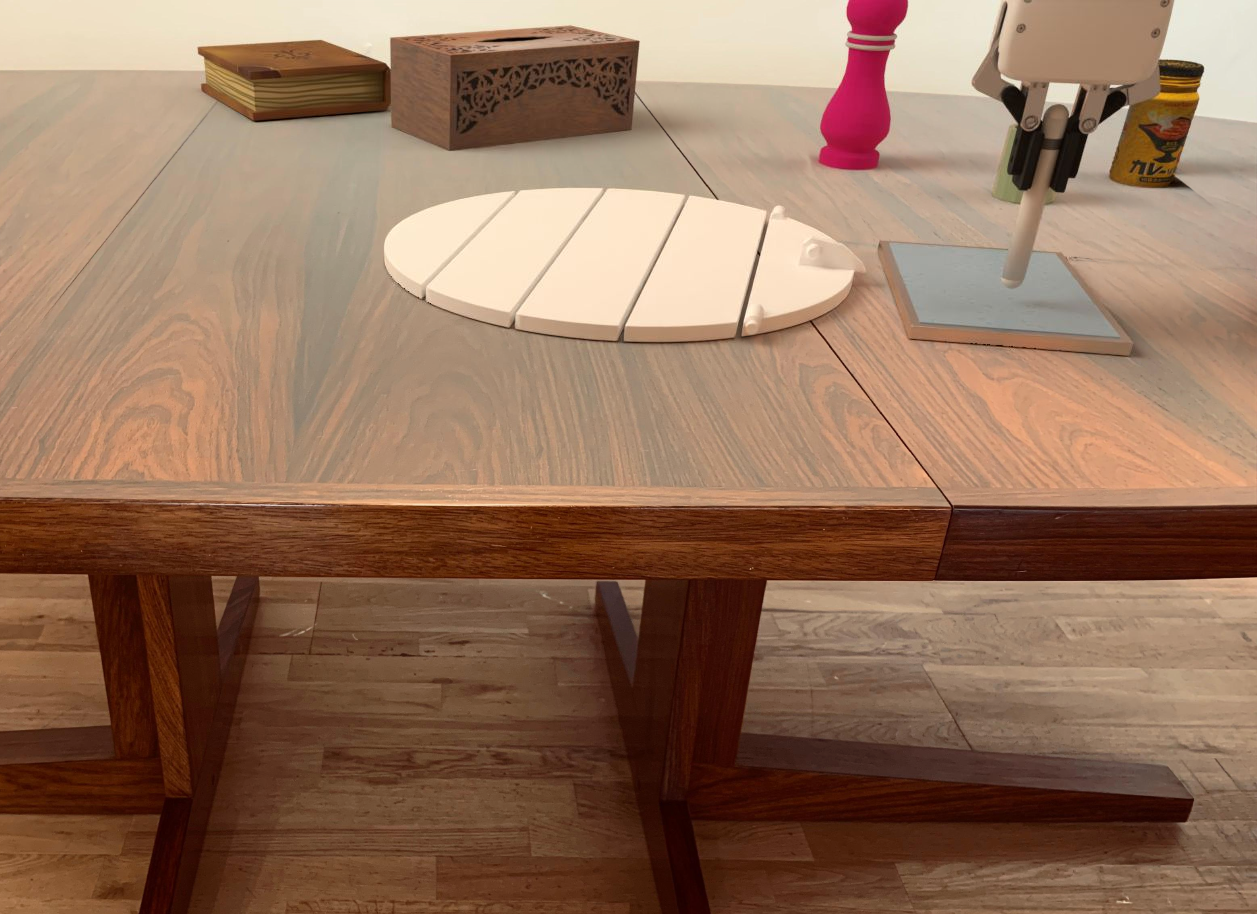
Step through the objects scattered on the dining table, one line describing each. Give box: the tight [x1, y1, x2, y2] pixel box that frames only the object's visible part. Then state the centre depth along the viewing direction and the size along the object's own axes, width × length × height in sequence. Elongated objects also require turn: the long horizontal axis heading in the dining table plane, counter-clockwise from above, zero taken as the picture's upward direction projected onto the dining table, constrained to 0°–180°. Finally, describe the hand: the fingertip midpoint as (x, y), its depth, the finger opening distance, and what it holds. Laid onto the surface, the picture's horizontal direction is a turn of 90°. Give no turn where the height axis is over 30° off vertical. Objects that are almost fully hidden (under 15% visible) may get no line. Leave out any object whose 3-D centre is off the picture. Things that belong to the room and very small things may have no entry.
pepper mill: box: [818, 0, 909, 171], centre depth 126 cm, size 7×7×20 cm
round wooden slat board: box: [383, 187, 867, 343], centre depth 101 cm, size 40×39×3 cm
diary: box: [197, 39, 391, 121], centre depth 158 cm, size 23×19×6 cm
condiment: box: [1108, 58, 1205, 189], centre depth 124 cm, size 7×8×12 cm
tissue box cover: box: [389, 24, 641, 151], centre depth 144 cm, size 26×14×10 cm, turn 119°
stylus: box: [1001, 103, 1070, 289], centre depth 86 cm, size 2×2×13 cm
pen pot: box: [991, 122, 1057, 205], centre depth 118 cm, size 6×6×7 cm
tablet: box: [877, 240, 1134, 357], centre depth 94 cm, size 15×22×1 cm
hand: (1037, 185), depth 86 cm, fingers closed on stylus, 1 cm apart
